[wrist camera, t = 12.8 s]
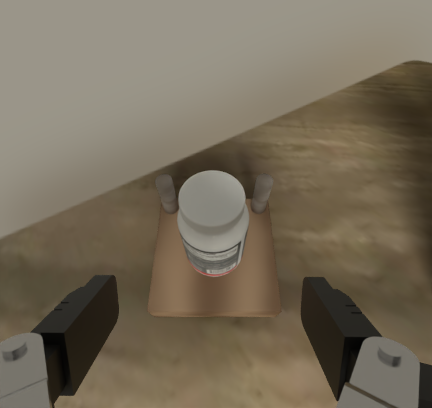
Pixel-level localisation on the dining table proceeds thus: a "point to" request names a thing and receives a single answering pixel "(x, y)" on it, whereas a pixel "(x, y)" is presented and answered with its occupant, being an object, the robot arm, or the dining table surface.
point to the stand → (220, 285)
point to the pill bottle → (213, 222)
